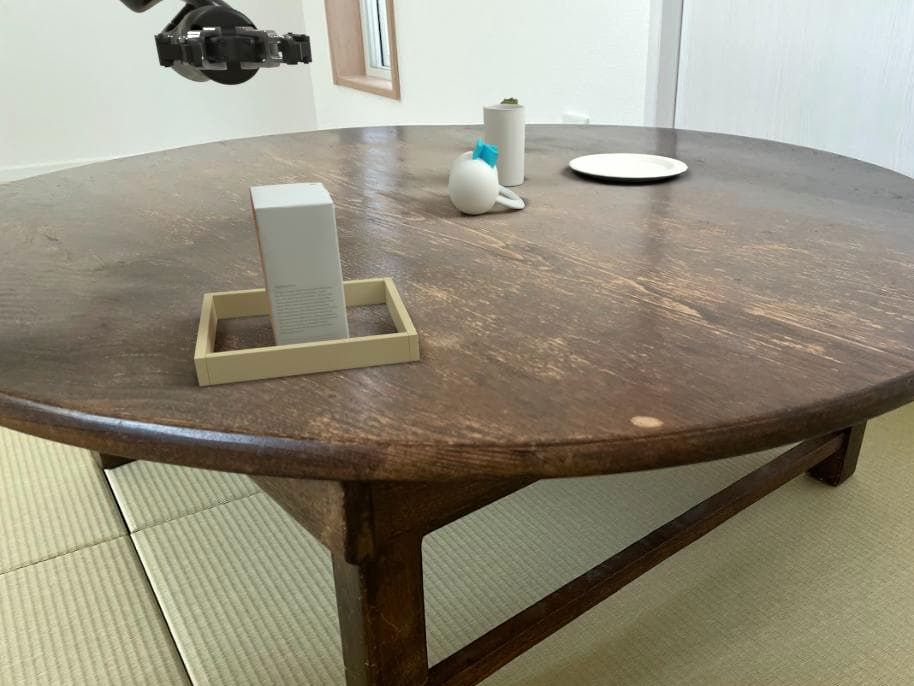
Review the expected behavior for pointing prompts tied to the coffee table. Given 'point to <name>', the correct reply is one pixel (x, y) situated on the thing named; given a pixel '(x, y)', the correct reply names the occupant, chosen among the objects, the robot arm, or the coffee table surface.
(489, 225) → the coffee table surface
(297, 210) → the small box
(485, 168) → the mug
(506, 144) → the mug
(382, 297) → the rectangular frame
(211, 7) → the robot arm
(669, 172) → the plate
